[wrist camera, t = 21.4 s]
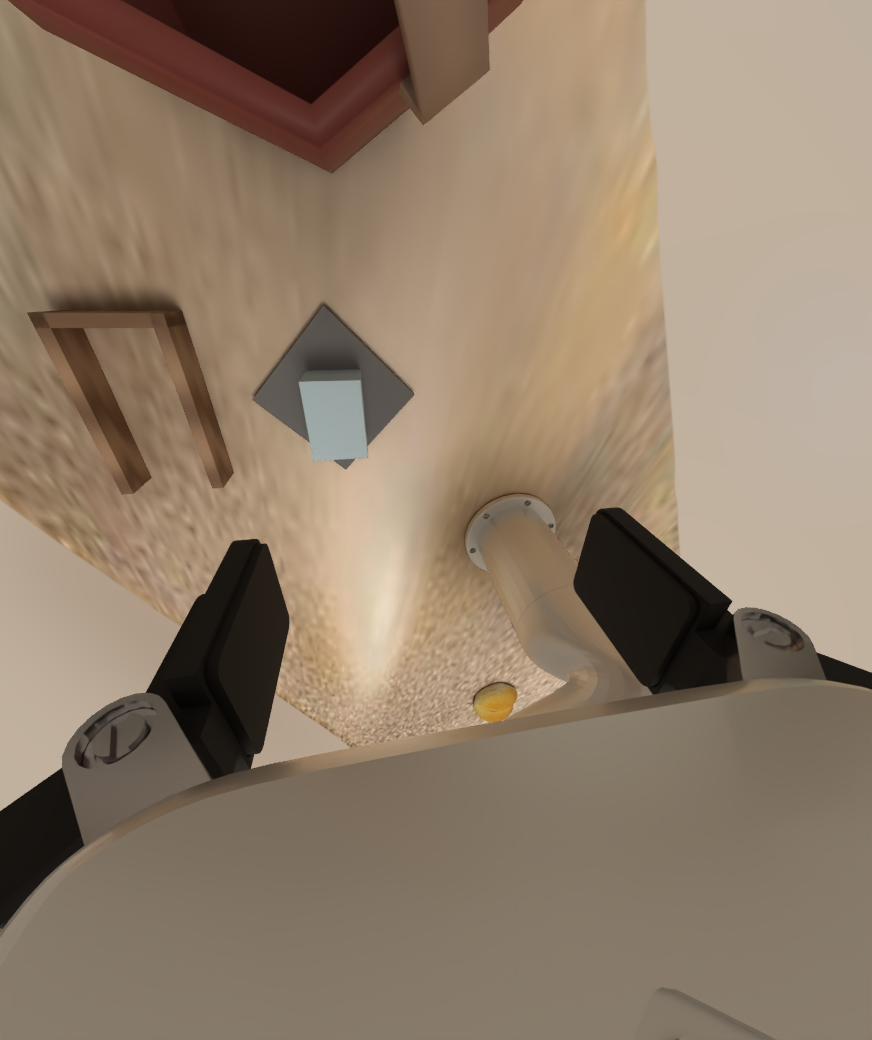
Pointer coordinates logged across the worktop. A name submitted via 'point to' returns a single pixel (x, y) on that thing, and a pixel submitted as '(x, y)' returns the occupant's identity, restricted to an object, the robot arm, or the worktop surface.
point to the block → (334, 414)
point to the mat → (332, 350)
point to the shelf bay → (98, 400)
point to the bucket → (292, 59)
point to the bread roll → (495, 702)
